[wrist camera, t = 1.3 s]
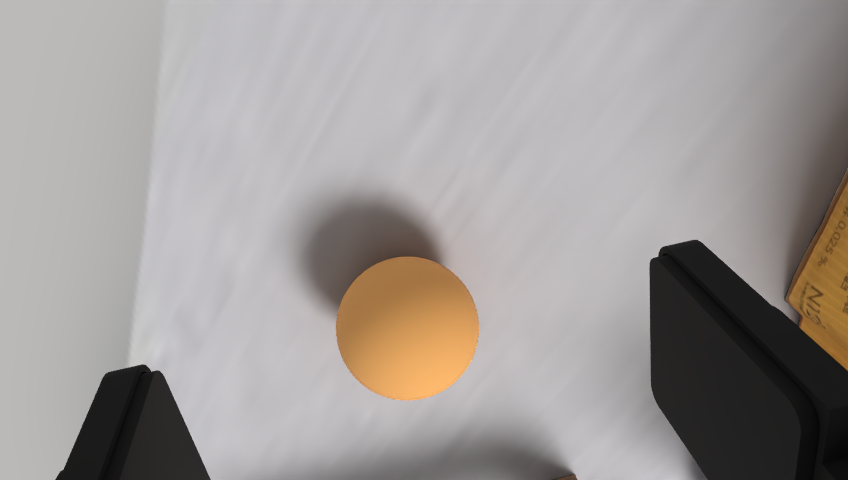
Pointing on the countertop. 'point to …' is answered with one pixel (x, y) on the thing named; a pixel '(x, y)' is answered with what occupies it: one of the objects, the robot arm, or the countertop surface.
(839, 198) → the pancake mix bag
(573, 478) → the bridge
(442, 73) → the countertop surface
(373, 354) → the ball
